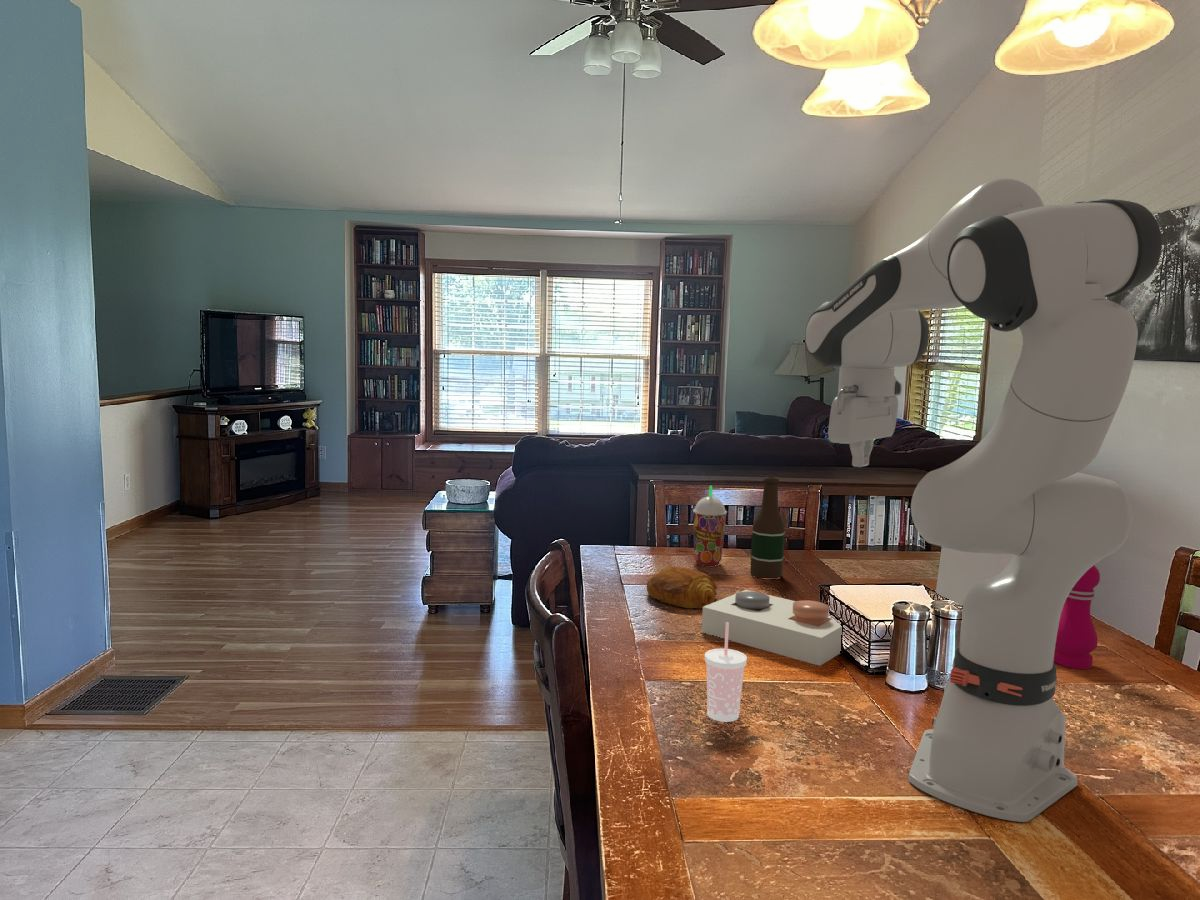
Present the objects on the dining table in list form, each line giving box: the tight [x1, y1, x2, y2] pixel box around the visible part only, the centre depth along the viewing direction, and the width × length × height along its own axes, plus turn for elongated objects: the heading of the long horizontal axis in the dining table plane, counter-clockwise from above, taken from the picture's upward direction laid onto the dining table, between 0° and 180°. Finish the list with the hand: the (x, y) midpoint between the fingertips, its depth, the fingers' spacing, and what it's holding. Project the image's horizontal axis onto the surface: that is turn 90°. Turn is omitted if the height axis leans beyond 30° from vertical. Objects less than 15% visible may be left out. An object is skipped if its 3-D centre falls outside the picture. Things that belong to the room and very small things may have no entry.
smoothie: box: [692, 485, 728, 567], centre depth 205 cm, size 8×8×20 cm
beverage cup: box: [704, 622, 748, 723], centre depth 120 cm, size 6×6×14 cm
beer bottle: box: [750, 475, 786, 579], centre depth 196 cm, size 8×8×24 cm
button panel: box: [701, 589, 842, 667], centre depth 154 cm, size 16×24×5 cm, turn 50°
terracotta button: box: [792, 599, 830, 627], centre depth 150 cm, size 6×6×6 cm
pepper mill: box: [1053, 565, 1101, 670], centre depth 144 cm, size 7×7×20 cm
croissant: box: [646, 566, 718, 609], centre depth 176 cm, size 14×16×8 cm
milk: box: [935, 547, 1014, 605], centre depth 166 cm, size 12×12×26 cm
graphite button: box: [735, 591, 770, 611], centre depth 158 cm, size 6×6×6 cm
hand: (860, 466), depth 141 cm, fingers closed
